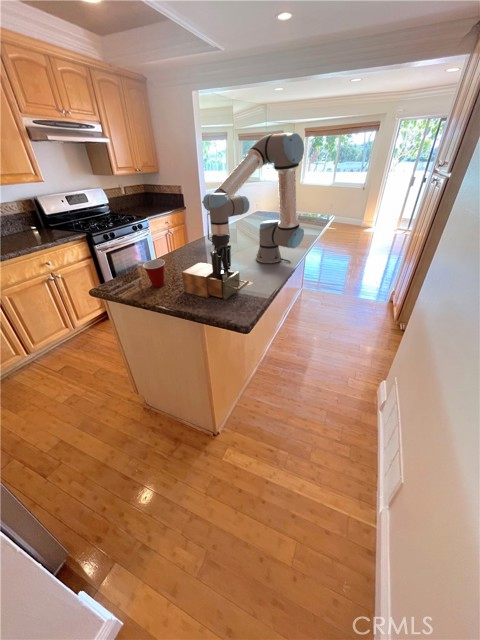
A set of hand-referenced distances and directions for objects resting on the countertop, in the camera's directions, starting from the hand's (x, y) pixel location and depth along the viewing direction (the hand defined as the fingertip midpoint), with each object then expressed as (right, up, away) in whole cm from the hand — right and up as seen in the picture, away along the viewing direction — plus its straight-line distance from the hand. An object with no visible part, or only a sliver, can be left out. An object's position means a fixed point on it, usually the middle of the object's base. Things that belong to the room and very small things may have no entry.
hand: (222, 284), depth 125 cm
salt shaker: (0, 0, 0) cm, 0 cm away
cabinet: (-10, -1, +7) cm, 12 cm away
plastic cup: (-34, +1, +12) cm, 36 cm away
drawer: (+2, -4, +1) cm, 4 cm away
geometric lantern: (-7, +39, +72) cm, 82 cm away
